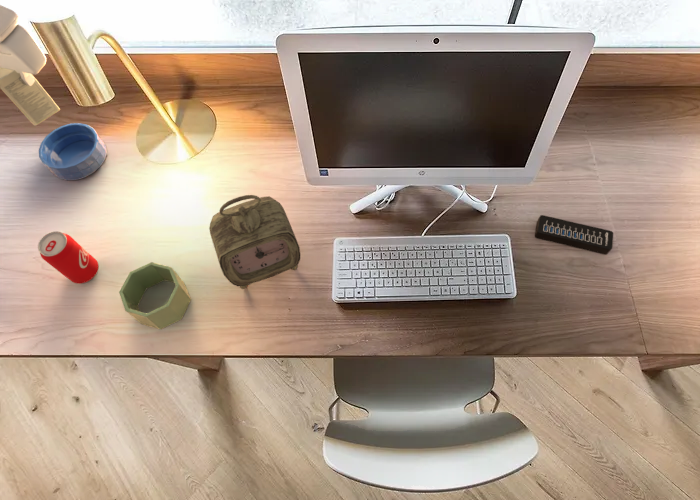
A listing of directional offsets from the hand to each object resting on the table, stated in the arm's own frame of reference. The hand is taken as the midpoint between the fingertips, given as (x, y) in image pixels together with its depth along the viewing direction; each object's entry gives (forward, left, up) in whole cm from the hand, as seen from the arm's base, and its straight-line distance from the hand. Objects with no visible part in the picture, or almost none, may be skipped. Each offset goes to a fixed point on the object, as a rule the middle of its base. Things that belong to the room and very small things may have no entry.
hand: (14, 80), depth 95 cm
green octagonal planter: (+36, -28, -24) cm, 51 cm away
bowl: (0, 0, -24) cm, 24 cm away
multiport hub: (+112, +8, -24) cm, 115 cm away
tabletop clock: (+53, -15, -24) cm, 60 cm away
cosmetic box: (0, 0, -9) cm, 9 cm away
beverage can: (+17, -26, -24) cm, 39 cm away
